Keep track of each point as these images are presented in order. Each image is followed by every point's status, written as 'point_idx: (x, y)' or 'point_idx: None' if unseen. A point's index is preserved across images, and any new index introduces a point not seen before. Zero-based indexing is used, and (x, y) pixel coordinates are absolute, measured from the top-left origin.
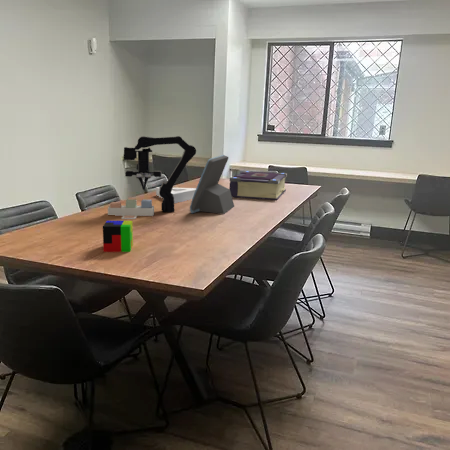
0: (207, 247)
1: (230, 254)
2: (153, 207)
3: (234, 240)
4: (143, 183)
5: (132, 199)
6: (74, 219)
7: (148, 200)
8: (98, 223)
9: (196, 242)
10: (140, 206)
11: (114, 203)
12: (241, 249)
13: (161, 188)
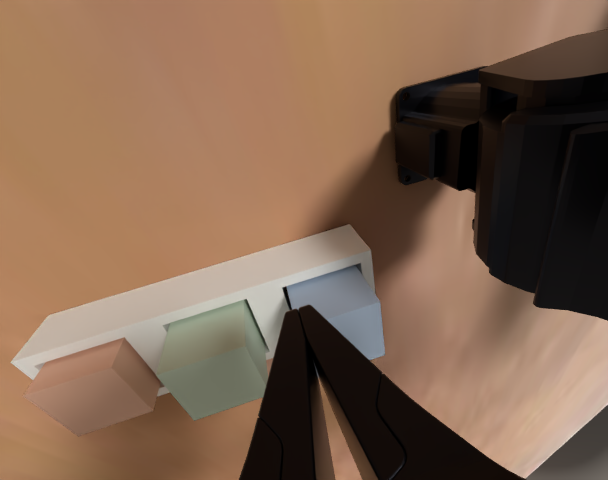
0: (505, 460)
1: (530, 465)
2: (374, 291)
3: (569, 415)
4: (317, 417)
5: (209, 359)
6: (16, 476)
7: (360, 339)
8: (183, 464)
9: (492, 452)
10: (279, 306)
11: (94, 414)
12: (557, 444)
13: (571, 303)
